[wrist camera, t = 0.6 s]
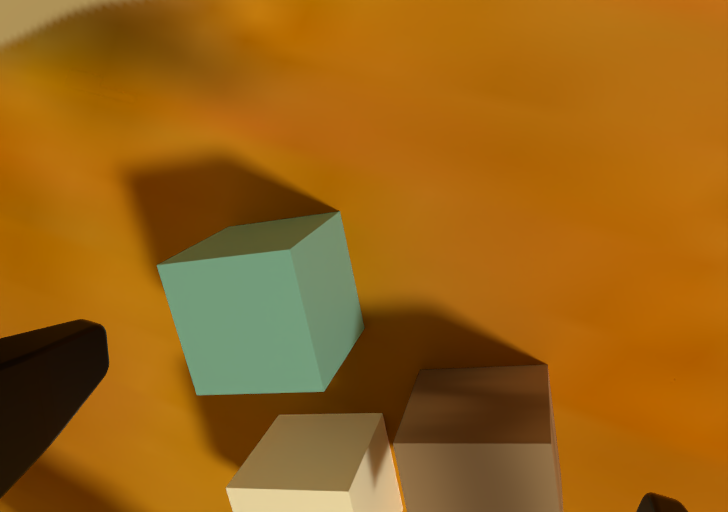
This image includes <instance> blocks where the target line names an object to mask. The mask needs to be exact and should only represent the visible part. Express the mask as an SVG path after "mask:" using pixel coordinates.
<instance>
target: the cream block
mask: <svg viewBox="0 0 728 512" xmlns="http://www.w3.org/2000/svg"><path fill="white" fill-rule="evenodd" d="M226 491H227V494H228V497H229V500H230V504H231V507H232V510H233V512H402V511H403V507H402V502H401V497H400V492H399V488H398V483H397V478H396V474H395V469H394V464H393V460H392V455H391V450H390V445H389V441H388V436H387V431H386V427H385V422H384V417H383V413H349V414H288V415H278V417H277V418H276V419H275V421H274V422H273V423H272V425H271V426H270V428H269V429H268V430H267V432H266V433H265V434H264V436H263V437H262V439H261V440H260V441H259V443H258V444H257V445H256V447H255V448H254V450H253V451H252V452H251V454H250V455H249V456H248V458H247V459H246V461H245V462H244V463H243V465H242V466H241V467H240V469H239V470H238V472H237V473H236V474H235V476H234V477H233V479H232V480H231V481H230V483H229V484H228V485H227V487H226Z"/></svg>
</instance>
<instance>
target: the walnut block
mask: <svg viewBox="0 0 728 512" xmlns="http://www.w3.org/2000/svg"><path fill="white" fill-rule="evenodd" d="M393 446H394V451H395V456H396V460H397V465H398V470H399V475H400V479H401V484H402V489H403V494H404V498H405V503H406V508H407V512H563V501H562V486H561V473H560V464H559V456H558V448H557V439H556V431H555V423H554V415H553V406H552V398H551V390H550V381H549V373H548V365H522V366H498V367H473V368H448V369H424V370H420V371H419V374H418V377H417V379H416V382H415V385H414V387H413V390H412V393H411V396H410V398H409V401H408V404H407V406H406V409H405V412H404V415H403V417H402V420H401V423H400V426H399V428H398V431H397V434H396V436H395V439H394V442H393Z"/></svg>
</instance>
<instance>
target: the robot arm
mask: <svg viewBox="0 0 728 512" xmlns="http://www.w3.org/2000/svg"><path fill="white" fill-rule="evenodd" d="M108 367H109V355H108V345H107V335H106V330H105V328H104V327H103V326H102V325H101V324H98V323H95V322H92V321H88V320H84V319H79V320H74V321H70V322H66V323H62V324H58V325H54V326H50V327H46V328H41V329H37V330H33V331H29V332H25V333H21V334H17V335H13V336H8V337H4V338H0V498H1V497H2V496H3V495H4V494H5V493H6V492H7V491H8V490H9V489H10V488H11V487H12V486H13V485H14V484H15V483H16V482H17V480H18V479H19V478H20V477H21V476H22V475H23V474H24V473H25V472H26V471H27V470H28V469H29V468H30V467H31V466H32V465H33V464H34V462H35V461H36V460H37V459H38V458H39V457H40V456H41V455H42V454H43V453H44V452H45V451H46V449H47V448H48V447H49V446H50V445H51V444H52V442H53V441H54V440H55V439H56V438H57V436H58V435H59V434H60V433H61V431H62V430H63V429H64V428H65V426H66V425H67V424H68V423H69V421H70V420H71V419H72V417H73V416H74V415H75V414H76V412H77V411H78V410H79V409H80V407H81V406H82V405H83V403H84V402H85V401H86V400H87V398H88V397H89V396H90V395H91V393H92V392H93V391H94V389H95V388H96V387H97V386H98V384H99V383H100V382H101V381H102V379H103V378H104V376H105V375H106V373H107V370H108ZM637 512H688V511H687V510H686V508H685V507H684V506H683V505H682V504H681V503H680V502H679V501H677V500H675V499H672V498H669V497H666V496H662V495H659V494H656V493H652V492H651V493H647V494H646V495H645V496H644V497H643V499H642V501H641V503H640V505H639V507H638V509H637Z"/></svg>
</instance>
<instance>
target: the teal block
mask: <svg viewBox="0 0 728 512" xmlns="http://www.w3.org/2000/svg"><path fill="white" fill-rule="evenodd" d="M157 268H158V271H159V274H160V278H161V281H162V284H163V287H164V291H165V294H166V297H167V300H168V304H169V307H170V310H171V313H172V317H173V320H174V323H175V326H176V329H177V333H178V336H179V339H180V342H181V346H182V349H183V352H184V355H185V359H186V362H187V365H188V368H189V372H190V375H191V378H192V381H193V384H194V388H195V391H196V394H197V395H226V394H261V393H296V392H324V391H325V389H326V388H327V386H328V385H329V383H330V382H331V380H332V378H333V377H334V375H335V374H336V372H337V371H338V369H339V368H340V366H341V364H342V363H343V361H344V360H345V358H346V357H347V355H348V354H349V352H350V350H351V349H352V347H353V346H354V344H355V343H356V341H357V340H358V338H359V336H360V335H361V333H362V332H363V330H364V329H365V328H364V323H363V318H362V314H361V309H360V304H359V300H358V295H357V290H356V285H355V281H354V276H353V271H352V266H351V262H350V257H349V252H348V248H347V243H346V238H345V233H344V229H343V224H342V219H341V215H340V211H338V212H331V213H324V214H317V215H309V216H302V217H295V218H288V219H281V220H273V221H266V222H259V223H252V224H245V225H237V226H230V227H227V228H225V229H223V230H221V231H220V232H218V233H216V234H214V235H212V236H210V237H208V238H207V239H205V240H203V241H201V242H199V243H197V244H195V245H193V246H192V247H190V248H188V249H186V250H184V251H182V252H180V253H178V254H177V255H175V256H173V257H171V258H169V259H167V260H165V261H164V262H162V263H160V264H158V265H157Z"/></svg>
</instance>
